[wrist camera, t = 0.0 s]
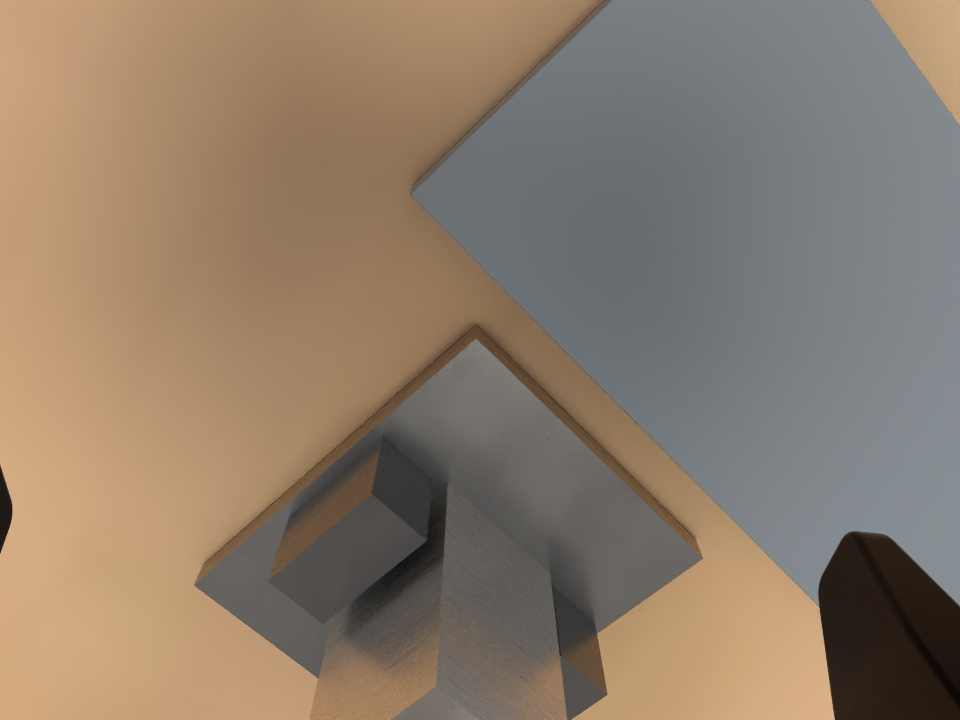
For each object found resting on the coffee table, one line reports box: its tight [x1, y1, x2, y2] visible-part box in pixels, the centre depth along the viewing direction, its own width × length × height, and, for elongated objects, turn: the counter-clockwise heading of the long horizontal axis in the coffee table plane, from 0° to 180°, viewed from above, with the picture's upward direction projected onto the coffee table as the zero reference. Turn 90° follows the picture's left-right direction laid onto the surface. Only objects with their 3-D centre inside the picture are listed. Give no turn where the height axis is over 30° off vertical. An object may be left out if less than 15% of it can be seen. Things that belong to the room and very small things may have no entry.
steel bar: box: [310, 483, 567, 720], centre depth 24 cm, size 4×4×8 cm
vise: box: [194, 325, 703, 720], centre depth 27 cm, size 12×10×4 cm
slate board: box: [410, 0, 960, 606], centre depth 25 cm, size 11×22×1 cm, turn 43°
